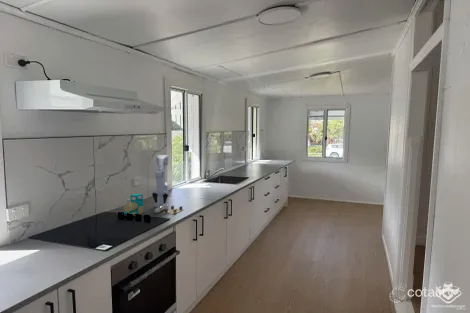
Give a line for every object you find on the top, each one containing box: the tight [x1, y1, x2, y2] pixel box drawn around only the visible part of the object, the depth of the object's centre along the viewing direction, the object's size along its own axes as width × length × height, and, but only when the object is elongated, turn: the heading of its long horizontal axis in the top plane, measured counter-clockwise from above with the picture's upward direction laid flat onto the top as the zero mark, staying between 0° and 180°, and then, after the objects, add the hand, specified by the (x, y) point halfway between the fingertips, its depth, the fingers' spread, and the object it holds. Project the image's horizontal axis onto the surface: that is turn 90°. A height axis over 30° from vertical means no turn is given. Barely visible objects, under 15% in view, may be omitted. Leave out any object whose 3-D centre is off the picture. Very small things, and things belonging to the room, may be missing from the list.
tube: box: [153, 204, 168, 215], centre depth 244 cm, size 14×4×4 cm, turn 163°
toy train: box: [123, 193, 145, 216], centre depth 232 cm, size 8×17×15 cm, turn 159°
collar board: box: [163, 205, 184, 215], centre depth 242 cm, size 10×14×4 cm
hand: (160, 202), depth 243 cm, fingers open, 7 cm apart
